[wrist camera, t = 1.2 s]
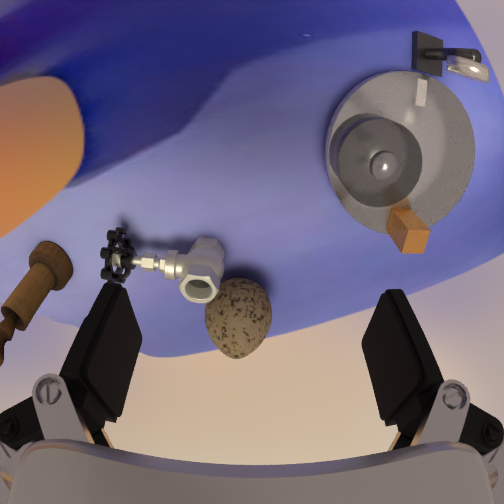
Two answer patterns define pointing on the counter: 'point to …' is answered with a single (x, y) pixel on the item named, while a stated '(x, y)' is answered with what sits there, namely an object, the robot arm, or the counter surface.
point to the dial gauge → (446, 58)
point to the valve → (169, 265)
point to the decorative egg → (238, 317)
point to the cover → (375, 159)
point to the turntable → (432, 147)
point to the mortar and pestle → (34, 289)
